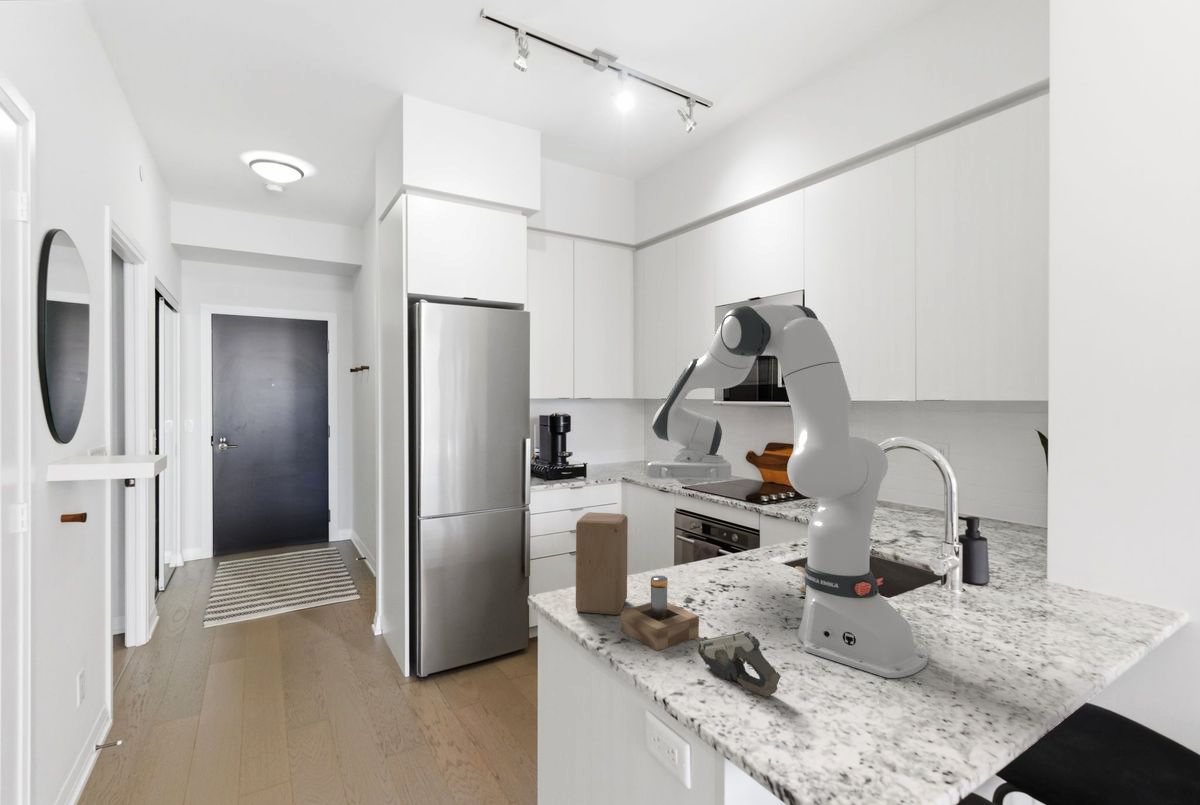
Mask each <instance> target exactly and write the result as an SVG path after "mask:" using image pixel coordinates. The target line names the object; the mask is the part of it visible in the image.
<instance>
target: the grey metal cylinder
mask: <svg viewBox="0 0 1200 805" xmlns="http://www.w3.org/2000/svg"><path fill="white" fill-rule="evenodd" d="M667 602H668V577H667V576H664V575H652V576H651V577H650V603H651V618H653V619H655V620H657V621H661V620H664V619H667Z"/></svg>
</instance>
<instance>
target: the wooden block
mask: <svg viewBox="0 0 1200 805" xmlns="http://www.w3.org/2000/svg"><path fill="white" fill-rule="evenodd" d="M628 519H629V518H628V516H627V515H626V514H625V513H613V512H612V513H611V512H590V511H589V512H586V513H585V514H583V515H582V516H581V517H580V518H579V519H578V520H577V521H576V524H575V609H576V611H577V612H579V613H588V614H589V613H590V614H600V615H610V616H611V615H613V616H618V615H621V611H622V610H623V607H624V605H625V604H626V601H627V599H628V527H629V526H628V525H629V524H628V521H629V520H628Z"/></svg>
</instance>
